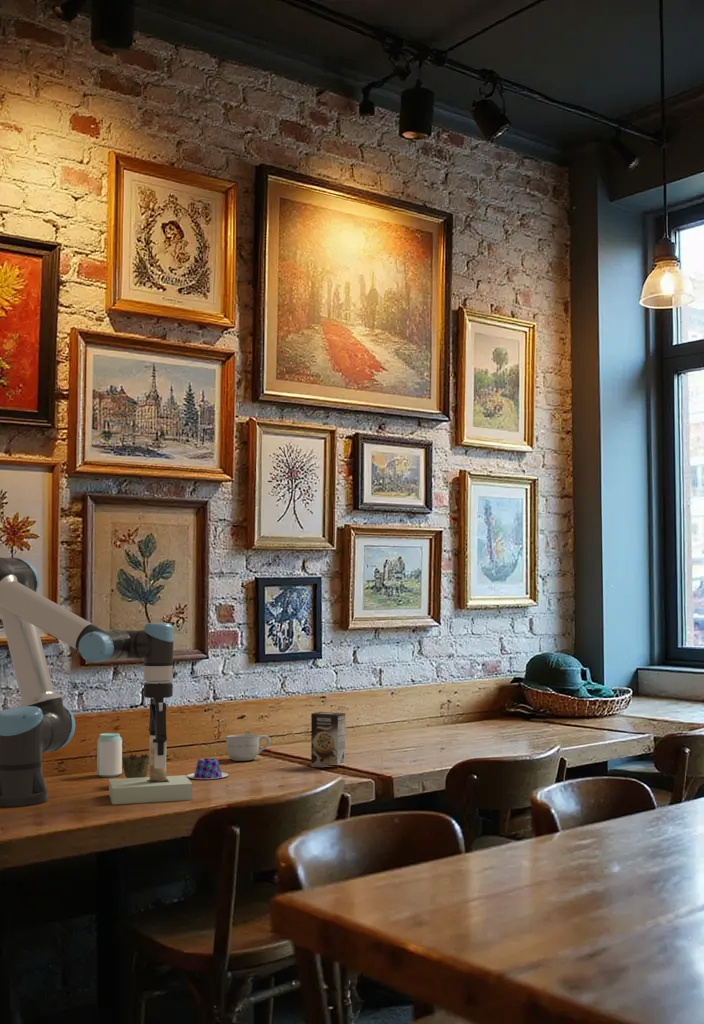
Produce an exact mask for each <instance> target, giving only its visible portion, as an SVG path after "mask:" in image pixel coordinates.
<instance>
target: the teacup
mask: <svg viewBox="0 0 704 1024" xmlns="http://www.w3.org/2000/svg"><path fill="white" fill-rule="evenodd" d="M225 739H226V741H225V742H226V746H225V747H226V753H227V754H226V755H227V756H228V757H229V758H230V759H231V760H232V761H234V762H235V761H237V762H241V761H243V762H244V761H253V760H255V758H257V756H258V755H260V754H261V753H262V751H265V749H267V748H268V747H270V743H271V739H270V737H269V736H268V735H265V734H263V735H259V734H258V733H257V734H253V733H251V734H250V733H248V734H245V733H242V734H233V735H226V736H225ZM263 739H265V740H266V744H264V745H263V746H262V747H260V744H261V742H262V740H263Z"/></svg>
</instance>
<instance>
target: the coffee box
mask: <svg viewBox="0 0 704 1024" xmlns="http://www.w3.org/2000/svg"><path fill="white" fill-rule="evenodd" d="M310 717H311V718H310V720H311V721H310V724H311V726H310V727H311V731H310V732H311V734H310V735H311V737H310V738H311V739H310V740H311V741H310V743H311V745H310V746H311V747H310V748H311V749H310V752H311V753H310V755H311V757H310V758H311V761H310V762H311V765H310V766H311V768H324V766H327V765H339V764H341V763H344V762H345V763H346V713H345V712H329V711H328V712H327V711H326V712H325V711H316V712H312V713H311V716H310Z"/></svg>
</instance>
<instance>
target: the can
mask: <svg viewBox="0 0 704 1024" xmlns="http://www.w3.org/2000/svg"><path fill="white" fill-rule="evenodd" d="M120 735H121V734H120V733H118V732H106V733H100V734H99V737H98V739H97V748H96V749H97V750H96V751H97V753H96V754H97V756H96V757H97V759H96V764H97V765H96V774H97V775H98V776H99V777H100V778H101V777H102V778H114V777H118V776H120V775H121V774H122V772H123V769H122V768H123V760H122V756H123V739H122V737H121V736H120Z"/></svg>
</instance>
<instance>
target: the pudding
mask: <svg viewBox="0 0 704 1024" xmlns="http://www.w3.org/2000/svg"><path fill="white" fill-rule="evenodd" d="M194 770H195V771H194V773H193V772H192V773H190V774H189V773H188V774H187V775H186V777H187V778H188V779H192V780H193V779H194V780H217V779H222V778H225V777H228V776H229V773H227V772H222V771H221V767H220V763H219V760H218V759H216V758H212V757H211V758H210V757H207V758H199V759H198V760H197V761H196V766H195V769H194Z"/></svg>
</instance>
